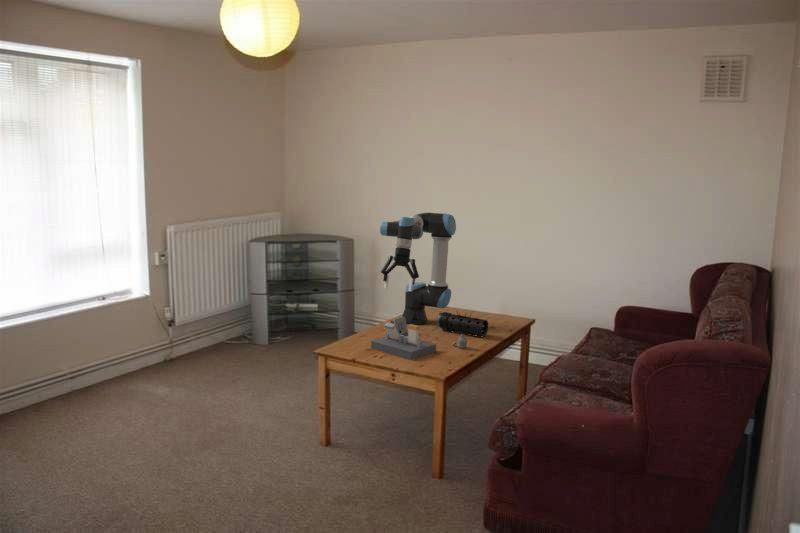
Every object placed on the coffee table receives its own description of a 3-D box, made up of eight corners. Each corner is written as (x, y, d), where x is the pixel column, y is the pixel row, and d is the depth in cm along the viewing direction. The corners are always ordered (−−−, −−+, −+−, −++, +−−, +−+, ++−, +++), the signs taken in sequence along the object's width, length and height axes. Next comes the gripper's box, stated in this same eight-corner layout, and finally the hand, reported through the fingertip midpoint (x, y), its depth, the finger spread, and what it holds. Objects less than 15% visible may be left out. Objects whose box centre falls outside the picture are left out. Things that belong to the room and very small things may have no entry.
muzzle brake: (480, 339, 360) (481, 321, 359) (435, 330, 375) (436, 313, 373) (488, 336, 368) (489, 318, 367) (443, 327, 383) (444, 310, 381)
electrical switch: (397, 336, 361) (396, 319, 360) (390, 335, 364) (389, 318, 363) (408, 333, 368) (407, 316, 367) (400, 332, 371) (400, 316, 370)
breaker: (392, 336, 343) (386, 322, 338) (401, 338, 339) (395, 324, 334) (389, 339, 341) (383, 325, 336) (398, 341, 337) (392, 327, 332)
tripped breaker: (409, 342, 335) (410, 324, 333) (419, 344, 331) (419, 326, 329) (406, 343, 333) (407, 324, 331) (416, 345, 329) (416, 327, 328)
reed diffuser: (471, 348, 344) (474, 310, 340) (466, 351, 338) (468, 313, 334) (454, 344, 349) (456, 307, 345) (448, 347, 343) (450, 310, 340)
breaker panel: (396, 340, 352) (397, 327, 351) (435, 351, 336) (436, 337, 335) (370, 348, 337) (371, 334, 336) (410, 360, 321) (411, 345, 320)
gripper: (383, 244, 327) (378, 287, 326) (428, 251, 337) (423, 292, 337) (377, 244, 334) (372, 286, 333) (422, 251, 344) (417, 292, 343)
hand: (397, 289), depth 335 cm, fingers open, 13 cm apart
